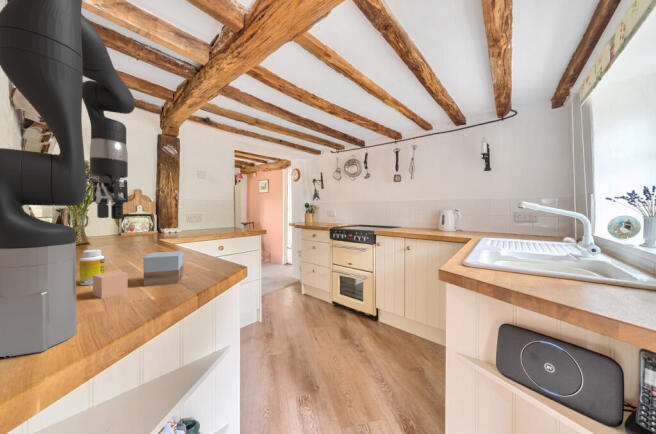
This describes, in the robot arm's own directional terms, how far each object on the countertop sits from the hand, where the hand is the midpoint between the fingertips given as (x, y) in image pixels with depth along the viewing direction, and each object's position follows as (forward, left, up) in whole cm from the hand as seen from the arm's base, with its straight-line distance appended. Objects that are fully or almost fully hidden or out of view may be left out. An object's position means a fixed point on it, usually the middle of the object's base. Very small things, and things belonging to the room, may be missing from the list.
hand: (109, 218), depth 64 cm
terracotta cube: (0, 0, -21) cm, 21 cm away
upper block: (+8, -11, -17) cm, 21 cm away
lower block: (+8, -11, -21) cm, 25 cm away
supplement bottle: (+13, +9, -21) cm, 26 cm away
